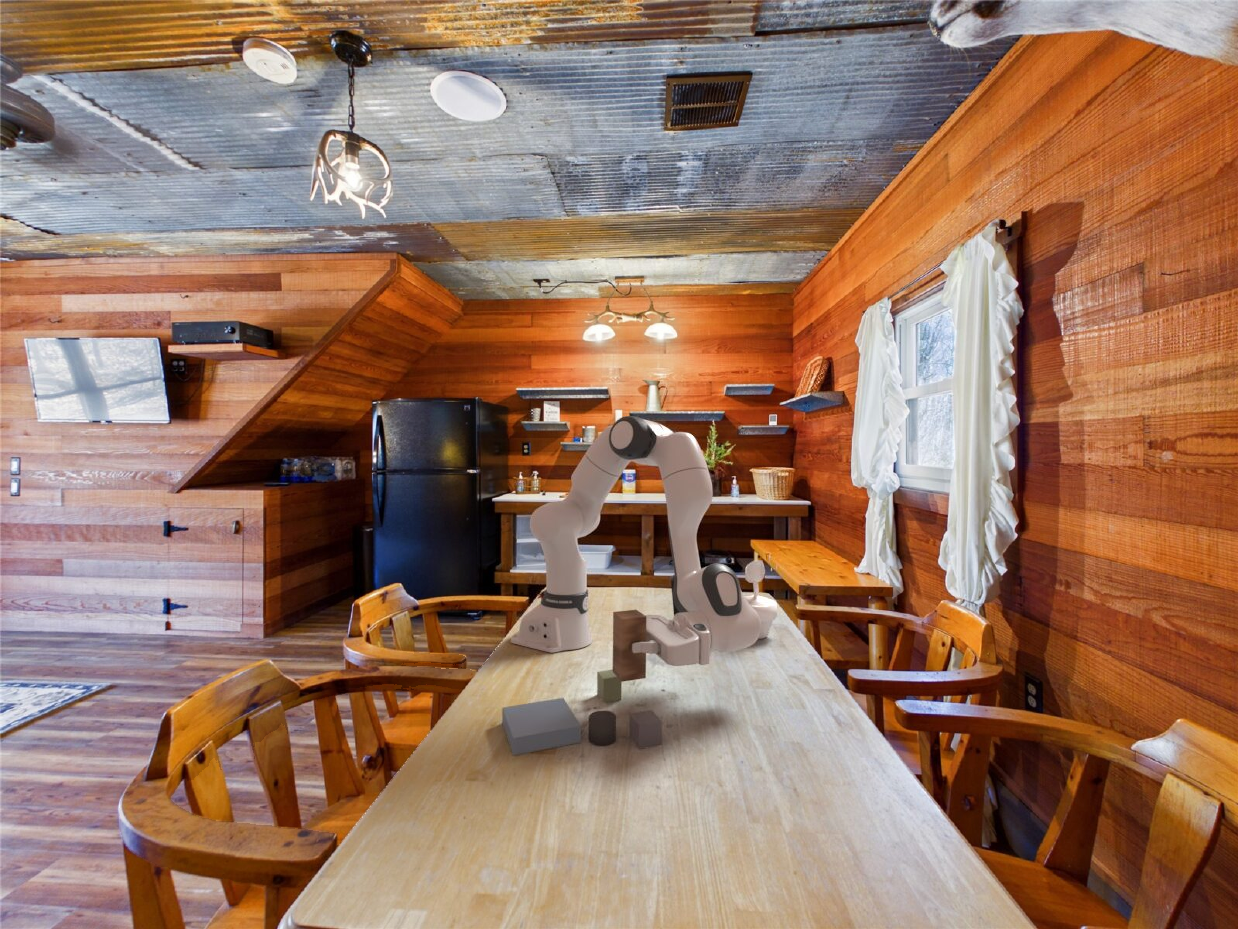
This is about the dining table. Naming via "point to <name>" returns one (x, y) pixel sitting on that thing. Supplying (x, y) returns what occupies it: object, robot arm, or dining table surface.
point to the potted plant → (760, 597)
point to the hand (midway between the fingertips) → (625, 641)
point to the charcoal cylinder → (602, 728)
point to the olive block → (608, 686)
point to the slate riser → (540, 726)
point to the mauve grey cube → (645, 729)
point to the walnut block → (628, 645)
